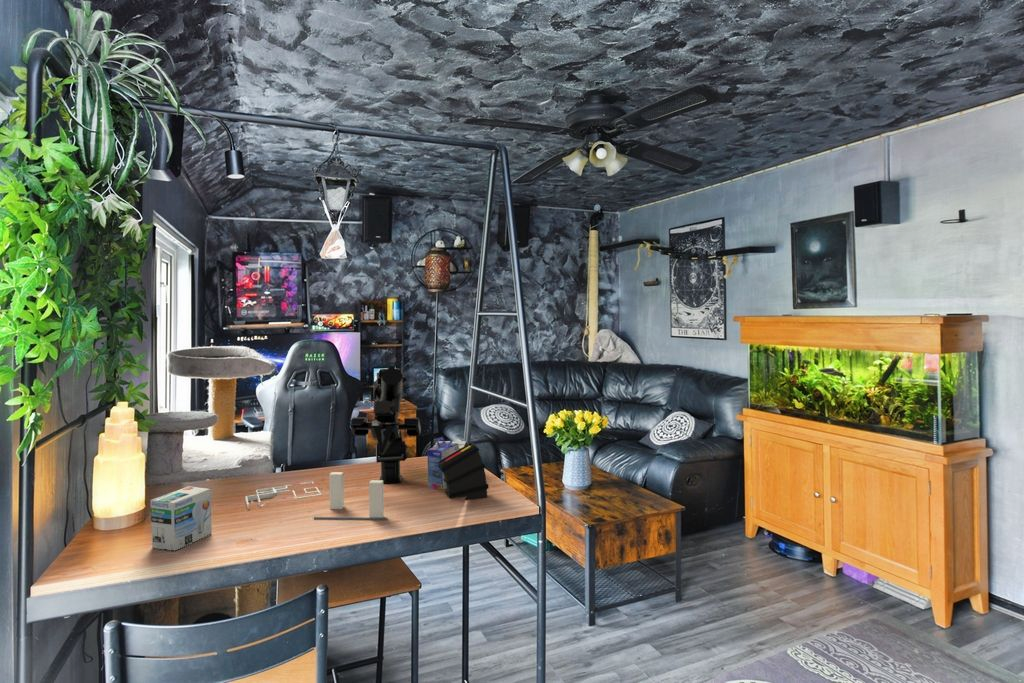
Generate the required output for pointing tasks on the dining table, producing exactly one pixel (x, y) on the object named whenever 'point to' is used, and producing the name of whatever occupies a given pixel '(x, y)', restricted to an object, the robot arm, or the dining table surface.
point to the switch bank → (350, 518)
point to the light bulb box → (181, 518)
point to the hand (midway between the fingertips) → (381, 453)
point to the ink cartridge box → (434, 457)
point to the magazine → (464, 473)
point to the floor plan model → (275, 493)
